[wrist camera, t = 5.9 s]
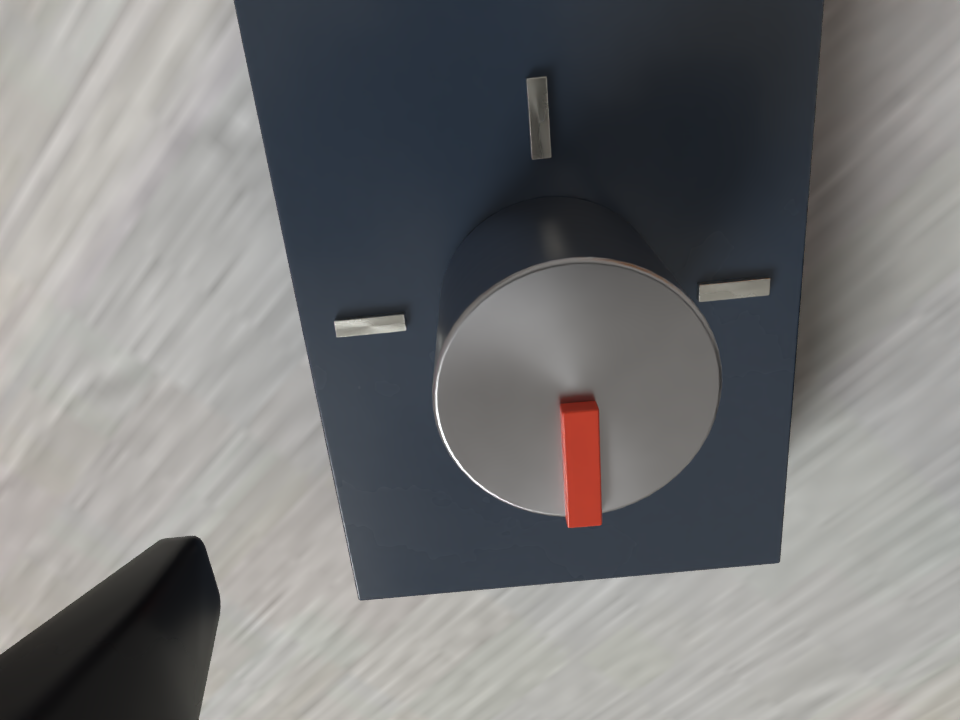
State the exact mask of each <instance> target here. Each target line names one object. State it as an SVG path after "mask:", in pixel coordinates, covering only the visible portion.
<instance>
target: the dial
mask: <svg viewBox="0 0 960 720" xmlns="http://www.w3.org/2000/svg"><path fill="white" fill-rule="evenodd" d="M721 388H722V365H721V360H720V354H719V349H718V346H717V343H716V340H715V337H714V334H713V332H712V330H711V328H710V326H709V324H708V322H707V320H706V318H705V317H704V315H703V314H702V313H701V311H700V310H699V308H698V307H697V306H696V304H695V303H694V302H693V300H692V299H691V298H690V297H689V295H688V294H687V293H686V292H685V290H684V289H683V288H682V287H681V285H680V284H679V283H678V282H677V280H676V279H675V278H674V277H673V275H672V274H671V273H670V272H669V270H668V269H667V268H666V267H665V265H664V264H663V263H662V261H661V260H660V259H659V258H658V256H657V255H656V254H655V253H654V251H653V250H652V249H651V248H650V246H649V245H648V244H647V243H646V241H645V240H644V239H643V238H642V236H641V235H640V234H639V233H638V232H637V231H636V230H635V229H634V228H633V227H632V226H631V225H630V224H629V223H628V222H627V221H625V220H624V219H623V218H621V217H620V216H619V215H617V214H616V213H614V212H612V211H610V210H609V209H607V208H605V207H602V206H600V205H597V204H595V203H592V202H589V201H585V200H581V199H577V198H568V197H543V198H537V199H530V200H527V201H523V202H520V203H516V204H514V205H511V206H509V207H507V208H505V209H502V210H500V211H499V212H497V213H495V214H494V215H492V216H490V217H489V218H487V219H486V220H485V221H483V222H482V223H481V224H480V225H478V226H477V227H476V228H475V229H474V230H473V231H472V232H471V233H470V234H469V235H468V236H467V237H466V238H465V239H464V241H463V242H462V243H461V245H460V246H459V247H458V249H457V250H456V252H455V254H454V255H453V257H452V259H451V261H450V263H449V265H448V268H447V270H446V273H445V275H444V279H443V283H442V287H441V294H440V305H439V316H438V327H437V339H436V350H435V362H434V373H433V385H432V403H433V412H434V417H435V422H436V426H437V428H438V431H439V434H440V437H441V440H442V442H443V443H444V445H445V447H446V449H447V451H448V453H449V455H450V456H451V457H452V459H453V460H454V462H455V463H456V464H457V466H458V467H459V468H460V469H461V470H462V471H463V472H464V474H465V475H466V476H467V477H468V478H469V479H470V480H471V481H472V482H474V483H475V484H476V485H477V486H479V487H480V488H481V489H482V490H484V491H485V492H487V493H488V494H490V495H491V496H493V497H495V498H496V499H498V500H500V501H502V502H504V503H507V504H509V505H511V506H513V507H516V508H519V509H522V510H525V511H529V512H532V513H538V514H543V515H548V516H561V517H565V518H566V523H567V526H568V528H576V527H588V526H600V525H602V513H605V512H609V511H613V510H617V509H620V508H623V507H625V506H628V505H631V504H633V503H635V502H638V501H640V500H642V499H644V498H646V497H648V496H650V495H651V494H653V493H654V492H656V491H657V490H659V489H660V488H662V487H664V486H665V485H666V484H667V483H669V482H670V481H671V480H672V479H673V478H675V477H676V476H677V475H678V474H679V473H680V472H681V471H682V470H683V469H684V468H685V467H686V466H687V465H688V464H689V463H690V462H691V460H692V459H693V458H694V456H695V455H696V454H697V452H698V451H699V450H700V448H701V447H702V445H703V443H704V441H705V440H706V438H707V436H708V435H709V432H710V430H711V428H712V425H713V423H714V420H715V418H716V414H717V410H718V406H719V403H720V397H721Z"/></svg>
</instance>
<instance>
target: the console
mask: <svg viewBox="0 0 960 720" xmlns="http://www.w3.org/2000/svg"><path fill="white" fill-rule="evenodd" d="M234 4H235V9H236V14H237V19H238V24H239V28H240V33H241V38H242V43H243V48H244V52H245V57H246V62H247V67H248V72H249V76H250V81H251V86H252V91H253V95H254V100H255V105H256V110H257V115H258V119H259V124H260V129H261V134H262V139H263V143H264V148H265V153H266V158H267V163H268V167H269V172H270V177H271V182H272V187H273V191H274V196H275V201H276V206H277V211H278V215H279V220H280V225H281V230H282V235H283V239H284V244H285V249H286V254H287V259H288V263H289V268H290V273H291V278H292V283H293V287H294V292H295V297H296V302H297V307H298V311H299V316H300V321H301V326H302V331H303V335H304V340H305V345H306V350H307V355H308V359H309V364H310V369H311V374H312V378H313V383H314V388H315V393H316V398H317V402H318V407H319V412H320V417H321V422H322V426H323V431H324V436H325V441H326V446H327V450H328V455H329V460H330V465H331V470H332V474H333V479H334V484H335V489H336V494H337V498H338V503H339V508H340V513H341V518H342V522H343V527H344V532H345V537H346V542H347V546H348V551H349V556H350V561H351V566H352V570H353V575H354V580H355V585H356V590H357V594H358V599H359V600H372V599H383V598H394V597H405V596H417V595H428V594H439V593H450V592H461V591H472V590H483V589H495V588H506V587H517V586H528V585H539V584H550V583H562V582H573V581H584V580H595V579H606V578H617V577H629V576H640V575H651V574H662V573H673V572H684V571H695V570H707V569H718V568H729V567H740V566H751V565H762V564H774V563H779V562H780V555H781V542H782V529H783V517H784V504H785V491H786V478H787V466H788V453H789V440H790V427H791V415H792V402H793V389H794V376H795V364H796V351H797V338H798V325H799V312H800V300H801V287H802V274H803V261H804V249H805V236H806V223H807V210H808V198H809V185H810V172H811V159H812V146H813V134H814V121H815V108H816V95H817V83H818V70H819V57H820V44H821V32H822V19H823V6H824V0H234ZM543 197H568V198H577V199H581V200H585V201H589V202H592V203H595V204H597V205H600V206H602V207H605V208H607V209H609V210H610V211H612V212H614V213H616V214H617V215H619V216H620V217H621V218H623V219H624V220H625V221H627V222H628V223H629V224H630V225H631V226H632V227H633V228H634V229H635V230H636V231H637V232H638V233H639V234H640V235H641V236H642V238H643V239H644V240H645V241H646V243H647V244H648V245H649V246H650V248H651V249H652V250H653V251H654V253H655V254H656V255H657V256H658V258H659V259H660V260H661V261H662V263H663V264H664V265H665V267H666V268H667V269H668V270H669V272H670V273H671V274H672V275H673V277H674V278H675V279H676V280H677V282H678V283H679V284H680V285H681V287H682V288H683V289H684V290H685V292H686V293H687V294H688V295H689V297H690V298H691V299H692V300H693V302H694V303H695V304H696V306H697V307H698V308H699V310H700V311H701V313H702V314H703V315H704V317H705V318H706V320H707V322H708V324H709V326H710V328H711V330H712V332H713V334H714V337H715V340H716V343H717V346H718V349H719V354H720V360H721V365H722V388H721V397H720V403H719V406H718V410H717V414H716V418H715V420H714V423H713V425H712V428H711V430H710V432H709V435H708V436H707V438H706V440H705V441H704V443H703V445H702V447H701V448H700V450H699V451H698V452H697V454H696V455H695V456H694V458H693V459H692V460H691V462H690V463H689V464H688V465H687V466H686V467H685V468H684V469H683V470H682V471H681V472H680V473H679V474H678V475H677V476H676V477H675V478H673V479H672V480H671V481H670V482H669V483H667V484H666V485H665V486H664V487H662V488H660V489H659V490H657V491H656V492H654V493H653V494H651V495H650V496H648V497H646V498H644V499H642V500H640V501H638V502H635V503H633V504H631V505H628V506H625V507H623V508H620V509H617V510H613V511H609V512H605V513H602V525H600V526H588V527H576V528H568V526H567V523H566V518H565V517H561V516H548V515H543V514H538V513H532V512H529V511H525V510H522V509H519V508H516V507H513V506H511V505H509V504H507V503H504V502H502V501H500V500H498V499H496V498H495V497H493V496H491V495H490V494H488V493H487V492H485V491H484V490H482V489H481V488H480V487H479V486H477V485H476V484H475V483H474V482H472V481H471V480H470V479H469V478H468V477H467V476H466V475H465V474H464V472H463V471H462V470H461V469H460V468H459V467H458V466H457V464H456V463H455V462H454V460H453V459H452V457H451V456H450V455H449V453H448V451H447V449H446V447H445V445H444V443H443V442H442V440H441V437H440V434H439V431H438V428H437V426H436V422H435V417H434V412H433V403H432V385H433V373H434V362H435V350H436V339H437V327H438V316H439V305H440V294H441V287H442V283H443V279H444V275H445V273H446V270H447V268H448V265H449V263H450V261H451V259H452V257H453V255H454V254H455V252H456V250H457V249H458V247H459V246H460V245H461V243H462V242H463V241H464V239H465V238H466V237H467V236H468V235H469V234H470V233H471V232H472V231H473V230H474V229H475V228H476V227H477V226H478V225H480V224H481V223H482V222H483V221H485V220H486V219H487V218H489V217H490V216H492V215H494V214H495V213H497V212H499V211H500V210H502V209H505V208H507V207H509V206H511V205H514V204H516V203H520V202H523V201H527V200H530V199H537V198H543Z"/></svg>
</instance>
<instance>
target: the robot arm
mask: <svg viewBox="0 0 960 720" xmlns="http://www.w3.org/2000/svg"><path fill="white" fill-rule="evenodd" d="M219 616H220V594H219V590H218V587H217V584H216V580H215V577H214V574H213V571H212V567H211V564H210V561H209V557H208V554H207V551H206V548H205V545H204V543H203V542H202V540H201V539H200V538H198V537H196V536H185V537H174V538H165V539H162V540H159V541H158V542H156V543H155V544H154V545H152V546H151V547H149V548H148V549H147V550H145V551H144V552H142V553H141V554H140V555H138V556H137V557H136V558H134V559H133V560H131V561H130V562H129V563H127V564H126V565H124V566H123V567H122V568H120V569H119V570H117V571H116V572H115V573H113V574H112V575H110V576H109V577H108V578H106V579H105V580H104V581H102V582H101V583H99V584H98V585H97V586H95V587H94V588H92V589H91V590H90V591H88V592H87V593H85V594H84V595H83V596H81V597H80V598H79V599H77V600H76V601H74V602H73V603H72V604H70V605H69V606H67V607H66V608H65V609H63V610H62V611H60V612H59V613H58V614H56V615H55V616H53V617H52V618H51V619H49V620H48V621H47V622H45V623H44V624H42V625H41V626H40V627H38V628H37V629H35V630H34V631H33V632H31V633H30V634H28V635H27V636H26V637H24V638H23V639H21V640H20V641H19V642H17V643H16V644H15V645H13V646H12V647H10V648H9V649H8V650H6V651H5V652H3V653H2V654H1V655H0V720H199V715H200V710H201V705H202V700H203V696H204V691H205V686H206V681H207V676H208V671H209V666H210V661H211V656H212V651H213V646H214V641H215V636H216V631H217V626H218V621H219Z"/></svg>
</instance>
